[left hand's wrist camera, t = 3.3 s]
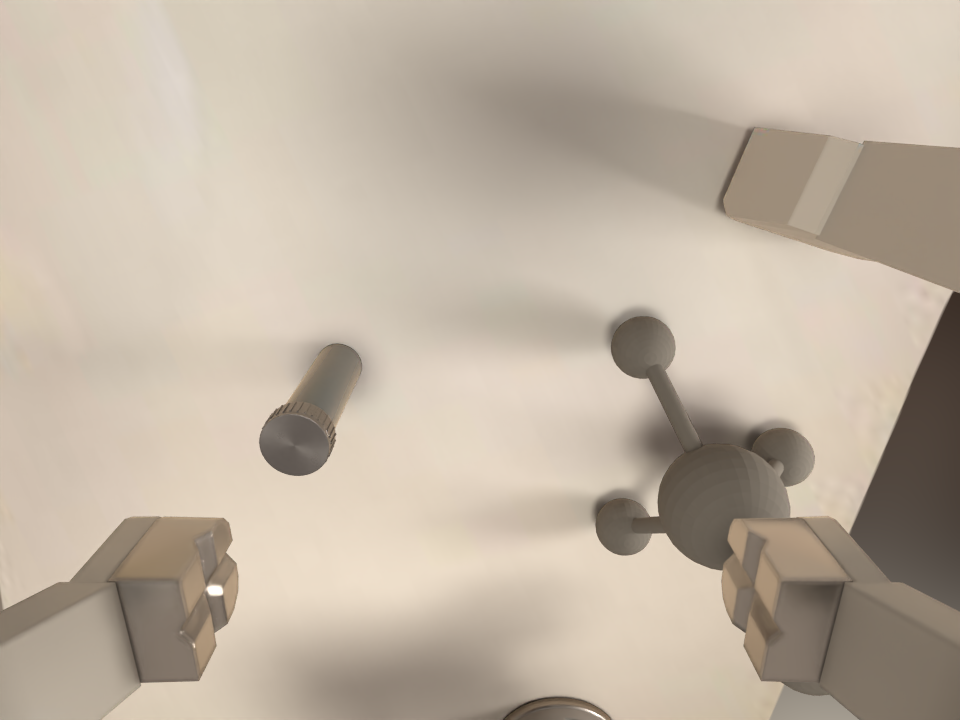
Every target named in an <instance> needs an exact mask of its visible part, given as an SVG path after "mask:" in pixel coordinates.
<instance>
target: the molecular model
mask: <svg viewBox="0 0 960 720" xmlns="http://www.w3.org/2000/svg"><path fill="white" fill-rule="evenodd" d="M611 352H612V356H613V359H614V361H615V363H616V365H617V366H618V367H619V368H620V369H621V370H622V371H623V372H624V373H626V374H627V375H629V376H632V377H635V378H640V379H646V378H649V380H650V382H651V384H652V386H653V388H654V390H655V392H656V394H657V396H658V398H659V400H660V402H661V404H662V406H663V408H664V410H665V412H666V414H667V416H668V418H669V420H670V422H671V425H672V427H673V429H674V431H675V433H676V435H677V437H678V439H679V441H680V443H681V445H682V447H683V449H684V451H685V453H684V454H683V455H681V456H680V457H679V458H677V459H676V460H675V461H674V462H673V463H672V464H671V466H670V467H669V469H668V470H667V472H666V473H665V475H664V477H663V479H662V482H661V484H660V487H659V494H658V512H659V516H658V517H650V516H649V515H648V513H647V511H646V510H645V509H644V508H643V507H642V506H641V505H640V504H639V503H637V502H635V501H633V500H630V499H624V498H620V499H615V500H612V501H610V502H608V503H607V504H605V505H604V506H603V507H602V508H601V510H600V511H599V513H598V515H597V518H596V533H597V536H598V538H599V540H600V542H601V543H602V544H603V546H604V547H605V548H607V549H608V550H609V551H611V552H613V553H615V554H618V555H632V554H636V553H638V552H640V551H641V550H642V549H644V548H645V547H646V545H647V544H648V542H649V540H650V538H651V535H652V533H666V534H667V535H668V537H669V539H670V540H671V542H672V543H673V545H674V546H675V547H676V548H677V549H678V550H679V551H680V552H682V553H683V554H684V555H685V556H686V557H688V558H689V559H691V560H692V561H694V562H696V563H698V564H701V565H703V566H706V567H708V568H711V569H716V570H723V564H724V562H725V561H726V560H727V559H728V558H729V557H730V556H731V555H732V554H733V553H734V551H733V549H732V548H731V546H730V544H729V542H728V541H727V540H728V534H729V529H730V526H731V524H732V522H733V520H734V519H750V518H790V503H789V499H788V495H787V490H786V488H785V487H787V486H793V485H796V484H798V483H800V482H802V481H804V480H805V479H806V478H807V477H808V476H809V475H810V473H811V472H812V470H813V467H814V461H815V456H814V452H813V448H812V446H811V444H810V443H809V442H808V440H807V439H806V438H805V437H803V436H802V435H801V434H799V433H798V432H796V431H793V430H791V429H786V428H776V429H771V430H768V431H766V432H764V433H763V434H761V435H760V436H759V437H758V438H757V439H756V441H755V442H754V444H753V446H752V450H751V451H749V450H747V449H744V448H742V447H740V446H735V445H731V444H708V445H703V444H702V443H701V441H700V439H699V437H698V435H697V433H696V431H695V429H694V427H693V425H692V423H691V421H690V419H689V417H688V415H687V413H686V411H685V409H684V407H683V405H682V403H681V401H680V399H679V397H678V395H677V393H676V391H675V389H674V387H673V385H672V383H671V381H670V379H669V377H668V375H667V373H666V371H665V370H666V369H667V368H668V367H669V365H670V364H671V362H672V361H673V358H674V355H675V340H674V337H673V335H672V333H671V331H670V329H669V328H668V327H667V326H666V325H665V324H664V323H662V322H661V321H660V320H657V319H655V318H652V317H644V316H640V317H635V318H632V319H629V320H627V321H626V322H624V323H623V324H622V325H621V326H620V327H619V328H618V329H617V330H616V332H615V334H614V336H613V339H612V344H611ZM782 683H783V684H785V685H786V686H788V687H790V688H791V689H793V690H795V691H798V692H801V693H804V694H808V695H816V696H820V695H829V693H827V692H826V691H825V690H824V689H823V688H821V687H820V686H819V683H812V682H782Z"/></svg>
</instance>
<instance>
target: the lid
mask: <svg viewBox="0 0 960 720" xmlns="http://www.w3.org/2000/svg"><path fill="white" fill-rule="evenodd" d="M335 436H336V433H335V427H334V425H333V421H332V420H331V419H330V417H329V415H327V414H326V413H325V412H324V410H322V409H320V408H319V407H318V406H315V405H313V404H311V403H306V402H296V401H295V402H291V403H287V404H285V405H281V407H279V408H278V409H276V410H275V411H274V413H272V414H271V415H270V417H269V418H268V420H267V421H266V423H265V425H264V426H263V428H262V431H261V434H260V439H259V444H260V449H261V452H262V455H263V456H264V458H265V460H266V461H267V462H268V463H269V464H270V465H271V466H272V467H273V468H275V469H276V470H278V471H280V472H282V473H285V474H288V475H294V476H302V475H308V474H311V473H313V472H315V471H317V470H318V469H320V468H321V467H322V466H323V465H324V463H325V462H326V461H327V459H328V457H329V456H330V454H331V452H332V449H333V447H334V444H335V441H336V440H335Z"/></svg>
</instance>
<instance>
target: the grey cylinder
mask: <svg viewBox="0 0 960 720" xmlns="http://www.w3.org/2000/svg"><path fill="white" fill-rule="evenodd" d="M361 369H362V364H361V360H360V358H359V356H358V354H357V353H356V352H355V351H354V350H353V349H352V348H350V347H348V346H346V345H342V344H333V345H329V346H327V347H325V348H324V349H323V350H322V351H321V352H320V353H319V355H318V356H317V358H316V359H315V361H314V362H313V364H312V365H311V367H310V368H309V370H308V371H307V373H306V374H305V376H304V377H303V379H302V380H301V382H300V383H299V385H298V386H297V388H296V389H295V391H294V392H293V394H292V395H291V397H290V398H289V400H288V401H287V403H291V402H295V401H296V402H306V403H311V404H313V405H315V406H318V407H319V408H320V409H322V410H324V412H325V413H326V414H327V415H329V417H330V419H331V420H332V421H333V425H334V427H335V428H336V426H337V423H338V421H339V419H340V417H341V415H342V413H343V410H344V408H345V406H346V404H347V402H348V399H349V397H350V395H351V393H352V391H353V388H354V386H355V384H356V382H357V380H358V378H359V375H360V373H361ZM287 403H286V404H287Z"/></svg>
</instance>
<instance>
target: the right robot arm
mask: <svg viewBox="0 0 960 720" xmlns="http://www.w3.org/2000/svg"><path fill="white" fill-rule="evenodd" d="M504 720H611V719H610V717H609V716H608V715H607V714H606V713H604V712H603V711H602V710H600V709H599V708H597V707H595V706H593V705H591V704H589V703H586V702H583V701H580V700H576V699H570V698H549V699H542V700H538V701H534V702H531V703H528V704H526V705H524V706H522V707H520V708H518V709H516V710H515V711H513V712H512V713H511V714H510V715H508V716H507V717H506V718H505V719H504Z"/></svg>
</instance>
